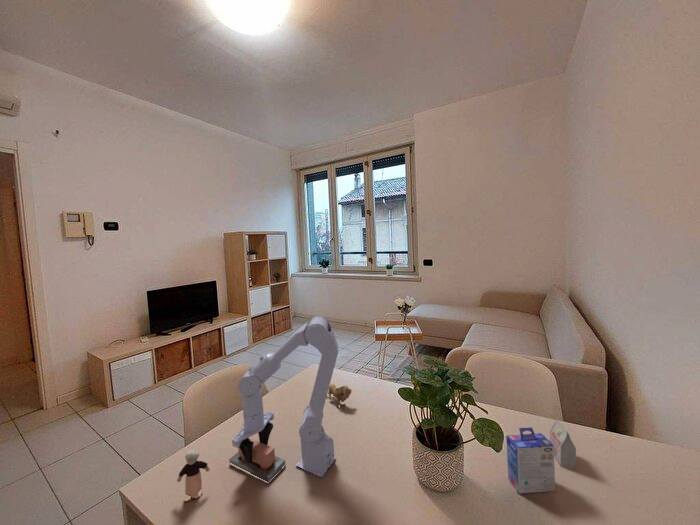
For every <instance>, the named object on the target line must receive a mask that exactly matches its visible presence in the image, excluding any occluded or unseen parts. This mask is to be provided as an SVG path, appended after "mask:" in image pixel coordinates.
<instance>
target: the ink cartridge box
mask: <svg viewBox="0 0 700 525" xmlns="http://www.w3.org/2000/svg"><path fill="white" fill-rule="evenodd" d="M518 430H519V434H514V435H513V434H512V435H510V434H509V435H506V436H505V437H506V438H505V440H506V454H507V455H506V457H507V478H508V481H509V482H510V484H511V485H512V486H513V488H514V490H515V491H516V492H517V494H530V493H532V494H533V493H545V492H547V493H548V492H555V491H556V478H555V477H556V476H555V475H556V474H555V456H554V445H553V444H552V443H551V442H550V439H548V438H547V437H545V435H543V433H542V432H536V433H535V431H534V429H533V427H532V426H531V427H519V428H518ZM525 432H531V433H525Z"/></svg>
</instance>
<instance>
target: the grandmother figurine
mask: <svg viewBox="0 0 700 525" xmlns="http://www.w3.org/2000/svg"><path fill="white" fill-rule="evenodd" d="M199 457H200V452H199V450H197V449H194V448H193V449H190V450H188V451H187V452H186V454H185V456H184V458H185V459H184V460H186V464H185V465H184V466H183V467H182V469H181V470H180V472H179V474H178V477H177V479H176V481H177V483H180V482H181V481H182V478H183V477H184V476H185V477H184V478H185V480H184V481H185V484H184V486H185V487H184V488H185V490H184V492H185V493H184V494H185V496H186V495H188V496H191V497H192V499H196V498H195V497H197V496H198V492H199V491H200V490H202V489H203V487H202V485H203V484H202V483H203V481H202V480H203V479H202V472H201V470H202V469H203V470H205V472H206V473H207V472H209V471H210V470H211V468H210V466H209V465H208V462H205V461H202V460H198V459H199ZM200 469H201V470H200Z"/></svg>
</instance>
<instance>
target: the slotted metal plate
mask: <svg viewBox="0 0 700 525" xmlns="http://www.w3.org/2000/svg"><path fill="white" fill-rule="evenodd" d="M228 462H230V463H232V464H234V465H236V466H238V467H240V468H242V469H244V470H246V471H248V472H250V473H251V474H253V475H255V476H257V477H259V478H261V479H263V480H265V481H267V482H269V481H270V480H271V479H272V478H273V477H274V476H275V475H276V474H277V473H278V472H279V471H280V470H281V469H282V467H283V466H284V465H285V466H286V459H283V458H281V457H278V456H276V455H275V462H274V463H273V464H272V465H271V466H270V467H269V468H268V469H267V470H266V471H264V470H261V469H260V465H259V464H257V463H255V462H253V461H252V462H251V463H248V462H244V461H242V460H241V456H239V451H237V452H236V453H235V454H233V455H232V456H231V457H230V458H229V459H228ZM230 463H229V464H230ZM282 470H283V469H282ZM282 470H281V471H282Z"/></svg>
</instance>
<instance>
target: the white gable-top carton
mask: <svg viewBox="0 0 700 525" xmlns="http://www.w3.org/2000/svg"><path fill="white" fill-rule="evenodd" d="M549 436H550V437H549V441H550V442H551V443H552V444H553V445H554V459H555V460H556V461H557V463H558V465H559V466H560V467H561V468H562V467H563V468H569V469H577V454H576V453H577V448H576V445H575V444H574V442H573V441H572V439H571V436H570V433H569V432H568V430H566V428H565V426H564V425H563V424H562V423H561V422H560V420H559V419H558V418H556V419H555V421H554V423H553V425H552V428H551V429H550V431H549Z"/></svg>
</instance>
